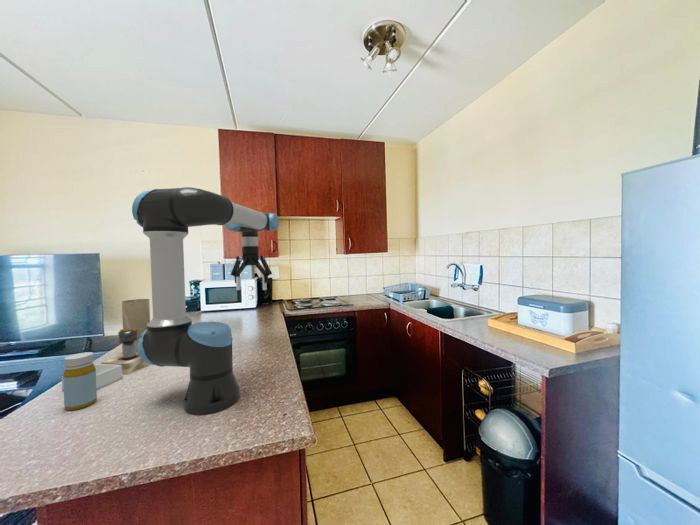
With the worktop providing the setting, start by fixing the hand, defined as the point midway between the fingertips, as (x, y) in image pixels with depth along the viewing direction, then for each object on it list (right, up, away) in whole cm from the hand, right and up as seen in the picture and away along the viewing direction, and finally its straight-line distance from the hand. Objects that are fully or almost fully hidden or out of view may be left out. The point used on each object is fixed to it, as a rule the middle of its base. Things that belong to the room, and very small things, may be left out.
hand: (251, 290), depth 134 cm
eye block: (-42, -29, -22) cm, 56 cm away
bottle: (-34, -30, -50) cm, 68 cm away
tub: (-42, -30, -37) cm, 64 cm away
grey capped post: (-42, -29, -22) cm, 56 cm away
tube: (-50, -29, -6) cm, 59 cm away
